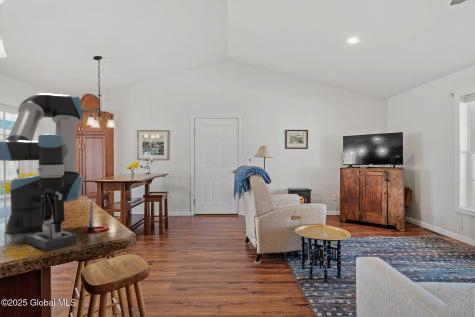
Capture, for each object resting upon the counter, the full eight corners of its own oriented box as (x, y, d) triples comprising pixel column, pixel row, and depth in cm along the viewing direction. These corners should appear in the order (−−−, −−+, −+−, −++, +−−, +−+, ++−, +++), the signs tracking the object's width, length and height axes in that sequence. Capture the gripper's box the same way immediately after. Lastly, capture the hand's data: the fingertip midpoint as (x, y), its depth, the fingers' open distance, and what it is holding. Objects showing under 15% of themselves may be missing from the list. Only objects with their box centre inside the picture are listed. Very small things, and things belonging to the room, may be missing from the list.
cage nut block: (42, 243, 97) (42, 224, 97) (56, 240, 101) (56, 222, 101) (48, 246, 95) (47, 226, 95) (62, 242, 99) (61, 223, 99)
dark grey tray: (24, 241, 100) (24, 233, 100) (54, 235, 108) (54, 227, 108) (45, 251, 90) (45, 241, 90) (76, 242, 98) (76, 234, 98)
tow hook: (95, 228, 120) (80, 233, 111) (96, 199, 120) (81, 201, 111) (112, 228, 119) (98, 234, 109) (113, 199, 119) (99, 202, 110)
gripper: (28, 176, 100) (30, 237, 100) (51, 178, 89) (52, 247, 90) (51, 175, 106) (52, 232, 106) (75, 176, 95) (76, 241, 96)
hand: (52, 239), depth 98 cm, fingers open, 6 cm apart
